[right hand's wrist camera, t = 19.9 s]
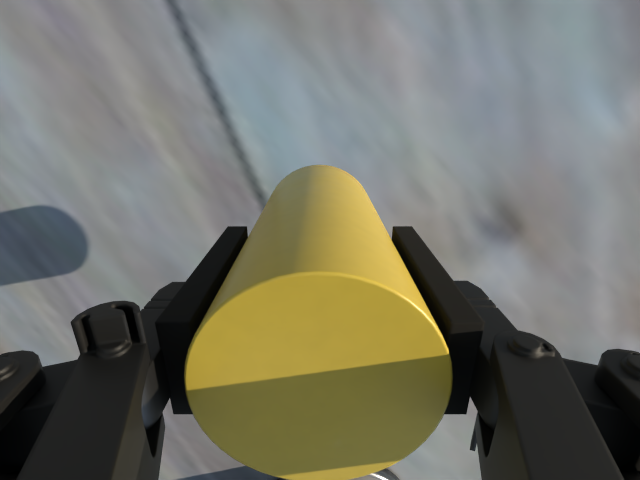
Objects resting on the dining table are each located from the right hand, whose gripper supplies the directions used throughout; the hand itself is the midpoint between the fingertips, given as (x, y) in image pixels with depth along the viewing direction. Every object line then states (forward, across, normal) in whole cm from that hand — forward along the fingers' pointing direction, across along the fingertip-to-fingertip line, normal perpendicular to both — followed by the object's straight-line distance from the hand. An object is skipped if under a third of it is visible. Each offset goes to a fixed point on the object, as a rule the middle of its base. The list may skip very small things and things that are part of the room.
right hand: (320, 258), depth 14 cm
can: (+6, 0, 0) cm, 6 cm away
